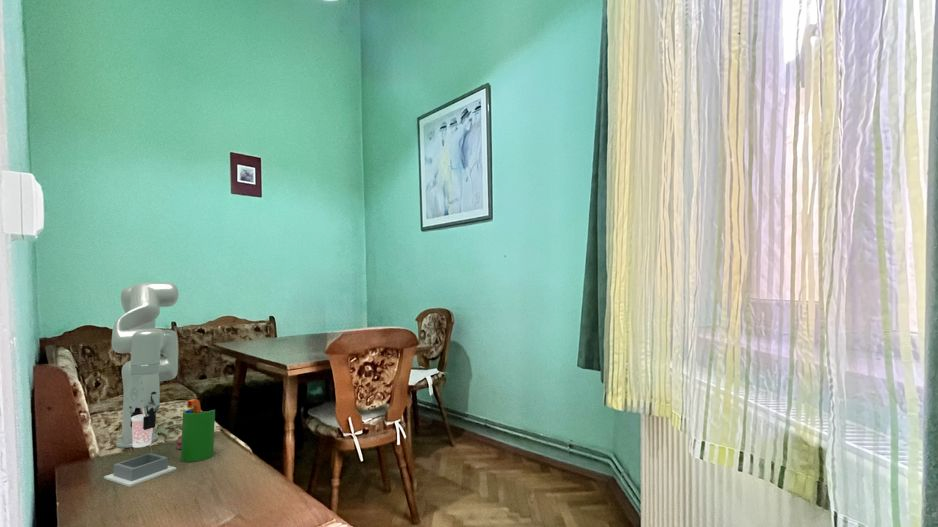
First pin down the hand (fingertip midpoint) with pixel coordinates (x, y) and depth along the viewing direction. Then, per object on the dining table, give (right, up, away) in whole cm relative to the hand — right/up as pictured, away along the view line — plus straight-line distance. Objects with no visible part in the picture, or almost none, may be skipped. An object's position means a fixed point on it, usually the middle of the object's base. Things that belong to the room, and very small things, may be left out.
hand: (142, 426), depth 132 cm
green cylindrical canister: (+9, -16, +12) cm, 22 cm away
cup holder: (0, -15, -1) cm, 14 cm away
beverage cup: (0, -6, 0) cm, 6 cm away
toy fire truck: (-1, -17, +26) cm, 31 cm away
